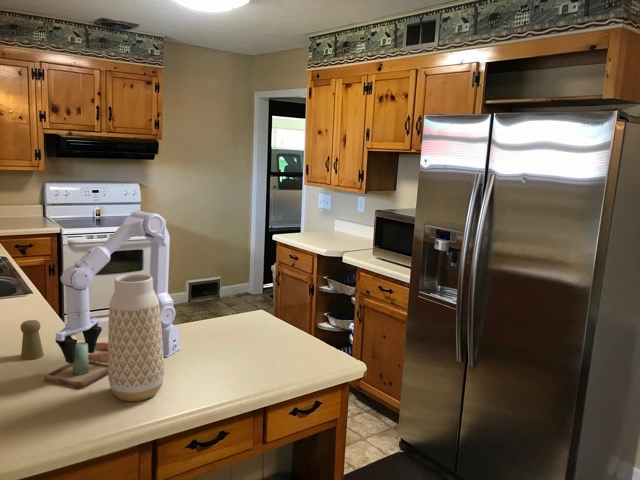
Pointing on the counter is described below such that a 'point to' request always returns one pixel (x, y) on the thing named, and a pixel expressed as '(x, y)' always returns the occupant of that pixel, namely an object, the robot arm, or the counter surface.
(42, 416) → the counter surface
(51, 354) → the counter surface
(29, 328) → the olive pepper mill
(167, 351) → the robot arm
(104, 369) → the walnut tray
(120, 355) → the vase
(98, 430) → the counter surface
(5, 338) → the counter surface
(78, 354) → the gray-green peg
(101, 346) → the faceted terracotta ring
